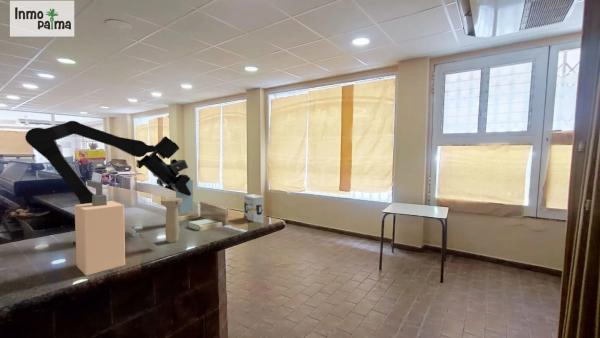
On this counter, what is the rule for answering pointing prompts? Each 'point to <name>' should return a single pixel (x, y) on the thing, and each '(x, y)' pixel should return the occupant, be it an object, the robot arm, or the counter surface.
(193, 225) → the pale green block
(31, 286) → the counter surface
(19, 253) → the counter surface
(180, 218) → the rack
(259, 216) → the ink box
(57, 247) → the counter surface
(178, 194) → the light blue block
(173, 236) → the handle
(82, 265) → the soap dispenser
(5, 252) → the counter surface
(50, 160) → the robot arm
